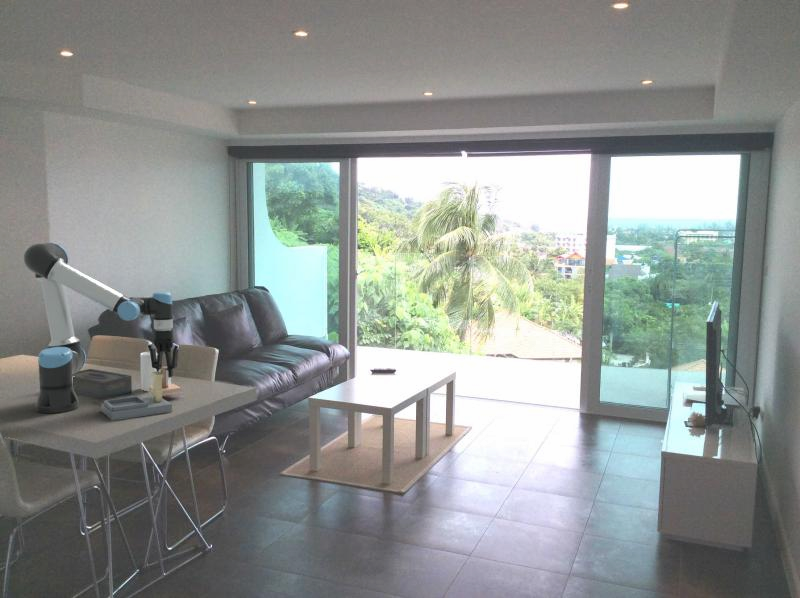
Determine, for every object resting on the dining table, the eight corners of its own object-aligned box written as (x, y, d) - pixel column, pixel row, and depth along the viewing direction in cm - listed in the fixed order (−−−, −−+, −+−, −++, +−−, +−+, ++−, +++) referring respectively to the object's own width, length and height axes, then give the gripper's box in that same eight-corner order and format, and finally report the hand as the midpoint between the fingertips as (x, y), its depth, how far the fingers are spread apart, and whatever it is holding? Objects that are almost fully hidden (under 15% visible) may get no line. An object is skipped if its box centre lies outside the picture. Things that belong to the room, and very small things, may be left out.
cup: (138, 391, 295) (137, 354, 293) (145, 386, 303) (144, 351, 301) (157, 391, 295) (156, 355, 293) (163, 386, 303) (162, 351, 302)
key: (147, 396, 272) (147, 369, 271) (153, 395, 274) (153, 368, 273) (157, 402, 262) (156, 375, 261) (163, 401, 264) (162, 374, 263)
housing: (112, 420, 249) (112, 408, 248) (101, 411, 261) (101, 399, 261) (172, 411, 262) (171, 400, 261) (159, 403, 274) (158, 392, 274)
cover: (156, 394, 276) (156, 370, 276) (149, 390, 284) (148, 366, 283) (181, 391, 282) (180, 367, 281) (173, 386, 290) (172, 364, 289)
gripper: (141, 330, 278) (143, 386, 281) (177, 331, 276) (178, 387, 278) (150, 327, 286) (152, 382, 288) (185, 328, 284) (186, 383, 286)
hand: (165, 384), depth 283 cm, fingers closed on cover, 2 cm apart
